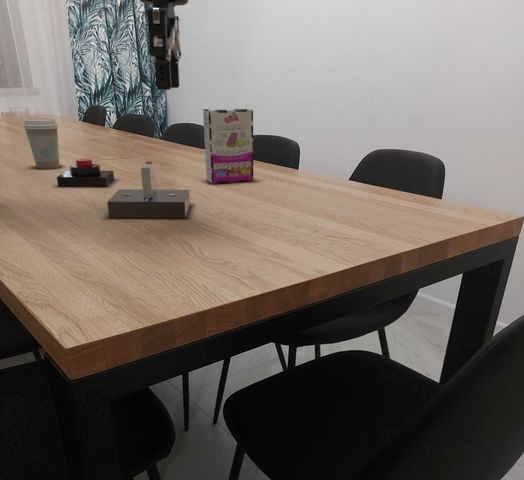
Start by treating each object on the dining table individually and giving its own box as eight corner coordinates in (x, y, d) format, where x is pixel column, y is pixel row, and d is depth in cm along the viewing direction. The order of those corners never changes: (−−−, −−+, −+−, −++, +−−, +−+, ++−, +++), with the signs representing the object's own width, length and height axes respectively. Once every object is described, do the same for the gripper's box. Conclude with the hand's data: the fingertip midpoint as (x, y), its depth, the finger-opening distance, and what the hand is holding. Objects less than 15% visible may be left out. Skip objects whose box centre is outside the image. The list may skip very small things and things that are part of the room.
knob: (152, 198, 93) (149, 166, 91) (143, 198, 93) (140, 166, 91) (156, 191, 99) (153, 160, 96) (148, 191, 99) (145, 160, 96)
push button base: (58, 186, 116) (54, 168, 114) (69, 179, 124) (66, 162, 122) (106, 187, 116) (104, 169, 114) (114, 179, 124) (112, 162, 122)
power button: (75, 168, 117) (73, 160, 116) (79, 166, 120) (78, 158, 119) (90, 168, 117) (89, 160, 116) (94, 166, 120) (93, 158, 119)
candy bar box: (246, 178, 129) (246, 107, 121) (253, 181, 125) (254, 108, 117) (205, 180, 125) (202, 107, 117) (211, 184, 121) (209, 109, 113)
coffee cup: (31, 170, 133) (21, 121, 128) (31, 165, 140) (22, 118, 134) (65, 169, 136) (57, 120, 130) (64, 164, 143) (56, 118, 137)
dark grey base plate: (109, 218, 92) (106, 200, 91) (120, 204, 102) (118, 188, 100) (185, 218, 93) (184, 201, 92) (189, 204, 103) (189, 188, 101)
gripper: (145, -28, 80) (153, 86, 88) (123, -47, 67) (135, 89, 75) (192, -27, 80) (196, 88, 88) (179, -45, 67) (185, 91, 75)
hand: (168, 88), depth 81 cm, fingers open, 8 cm apart
